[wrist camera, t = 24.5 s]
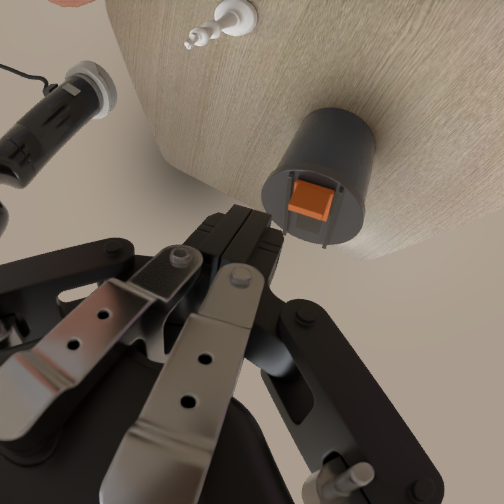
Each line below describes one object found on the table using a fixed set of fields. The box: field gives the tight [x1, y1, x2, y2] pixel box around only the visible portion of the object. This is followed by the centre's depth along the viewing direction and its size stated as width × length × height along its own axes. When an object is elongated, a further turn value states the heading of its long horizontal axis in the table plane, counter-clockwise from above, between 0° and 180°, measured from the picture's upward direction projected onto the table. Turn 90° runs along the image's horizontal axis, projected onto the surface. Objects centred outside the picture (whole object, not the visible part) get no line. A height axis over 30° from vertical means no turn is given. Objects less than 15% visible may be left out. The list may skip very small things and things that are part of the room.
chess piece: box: [184, 0, 258, 50], centre depth 24 cm, size 5×5×10 cm
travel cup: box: [261, 108, 376, 249], centre depth 33 cm, size 11×11×13 cm
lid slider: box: [288, 179, 335, 222], centre depth 27 cm, size 4×4×3 cm
